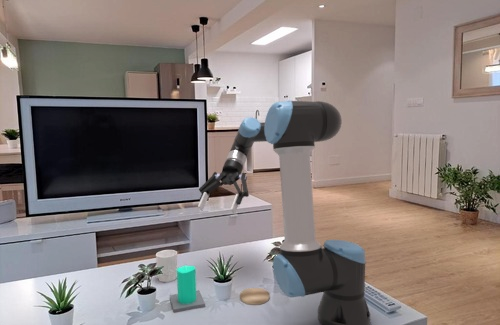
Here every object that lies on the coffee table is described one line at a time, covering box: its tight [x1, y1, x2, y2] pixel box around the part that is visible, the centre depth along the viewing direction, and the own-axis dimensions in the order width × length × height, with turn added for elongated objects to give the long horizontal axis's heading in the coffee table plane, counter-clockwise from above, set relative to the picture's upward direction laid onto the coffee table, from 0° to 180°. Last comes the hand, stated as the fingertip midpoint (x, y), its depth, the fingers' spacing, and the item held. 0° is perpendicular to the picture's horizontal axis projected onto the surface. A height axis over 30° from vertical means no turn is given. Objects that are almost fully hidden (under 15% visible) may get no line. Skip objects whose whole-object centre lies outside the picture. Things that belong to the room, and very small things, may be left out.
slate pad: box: [169, 289, 206, 313], centre depth 116 cm, size 10×10×1 cm
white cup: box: [155, 249, 178, 283], centre depth 134 cm, size 8×8×10 cm
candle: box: [176, 264, 197, 304], centre depth 116 cm, size 6×6×12 cm
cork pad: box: [239, 287, 270, 306], centre depth 119 cm, size 10×10×1 cm
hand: (216, 210), depth 127 cm, fingers open, 13 cm apart
